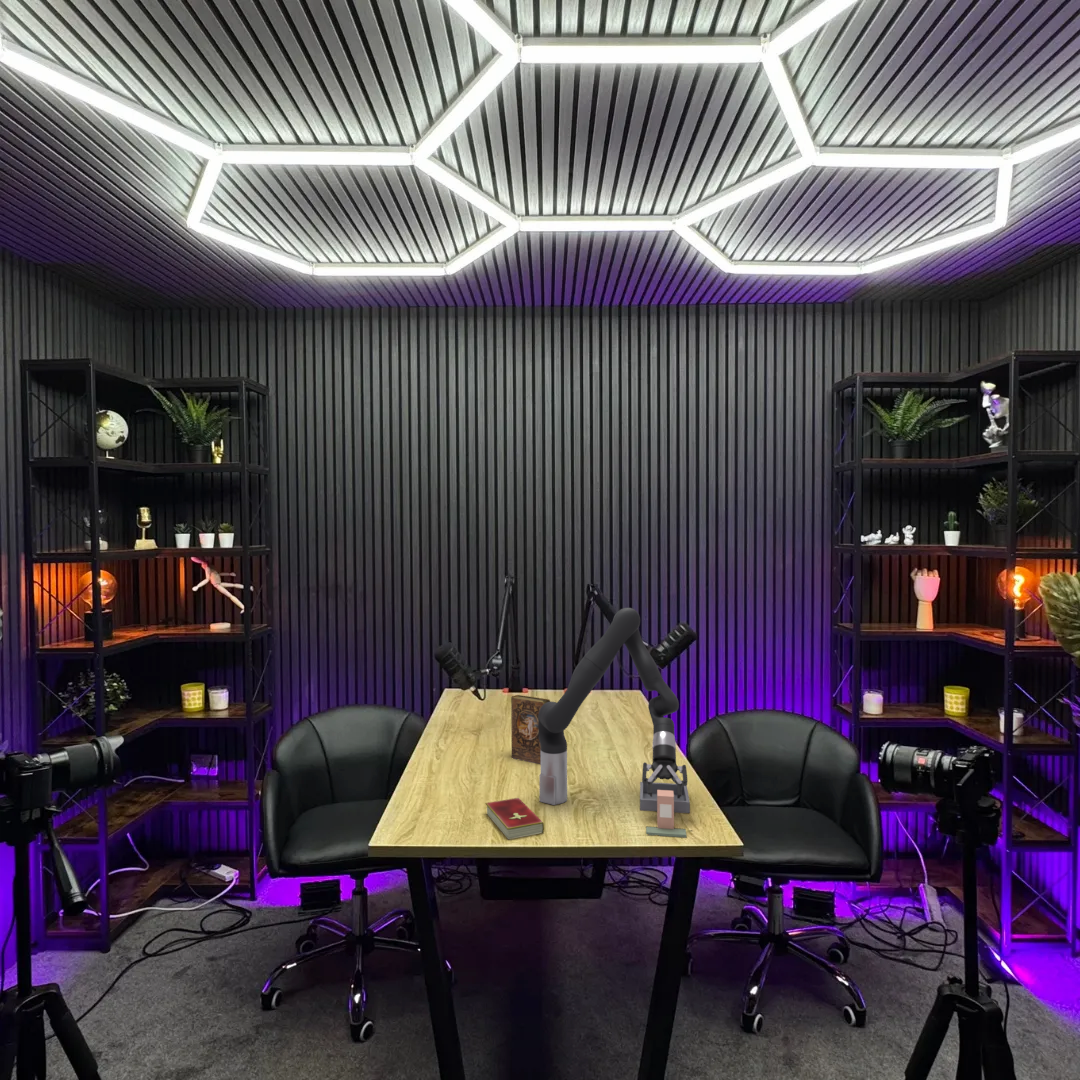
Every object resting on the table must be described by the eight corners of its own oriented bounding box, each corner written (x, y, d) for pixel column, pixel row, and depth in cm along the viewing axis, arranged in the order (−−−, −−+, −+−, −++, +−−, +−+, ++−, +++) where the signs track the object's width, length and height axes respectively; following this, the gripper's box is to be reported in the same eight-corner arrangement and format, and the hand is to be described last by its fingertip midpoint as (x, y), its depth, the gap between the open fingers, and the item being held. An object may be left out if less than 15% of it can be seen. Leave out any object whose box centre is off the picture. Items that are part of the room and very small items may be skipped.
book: (509, 758, 275) (509, 697, 275) (516, 754, 280) (516, 694, 280) (543, 764, 267) (543, 702, 267) (550, 760, 272) (550, 699, 271)
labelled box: (673, 829, 206) (673, 797, 206) (657, 828, 207) (657, 796, 207) (673, 822, 211) (673, 790, 211) (657, 821, 212) (657, 789, 212)
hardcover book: (519, 809, 225) (519, 796, 225) (544, 834, 206) (544, 821, 206) (485, 814, 220) (485, 802, 220) (507, 841, 201) (507, 827, 201)
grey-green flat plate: (686, 837, 202) (686, 834, 202) (646, 834, 204) (646, 832, 204) (684, 820, 214) (684, 818, 214) (646, 818, 216) (646, 816, 216)
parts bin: (689, 816, 218) (689, 802, 218) (639, 813, 220) (639, 799, 220) (686, 797, 234) (686, 784, 233) (640, 794, 236) (640, 781, 236)
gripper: (642, 742, 220) (641, 789, 209) (686, 744, 218) (688, 792, 206) (642, 753, 225) (641, 800, 214) (685, 755, 223) (687, 803, 212)
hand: (664, 796), depth 210 cm, fingers open, 8 cm apart
